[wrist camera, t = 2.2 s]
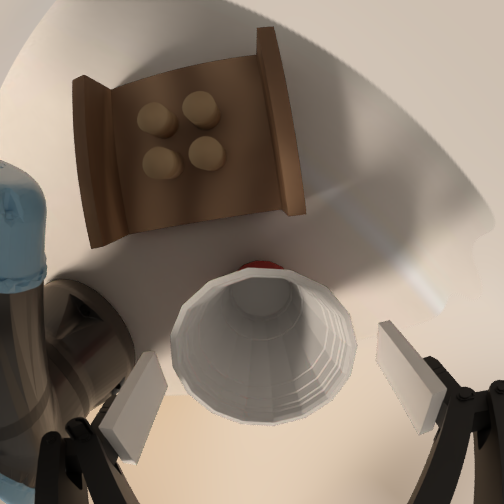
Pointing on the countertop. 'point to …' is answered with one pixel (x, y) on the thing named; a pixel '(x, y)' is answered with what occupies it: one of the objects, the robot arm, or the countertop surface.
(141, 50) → the countertop surface
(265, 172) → the peg board
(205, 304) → the plastic cup
